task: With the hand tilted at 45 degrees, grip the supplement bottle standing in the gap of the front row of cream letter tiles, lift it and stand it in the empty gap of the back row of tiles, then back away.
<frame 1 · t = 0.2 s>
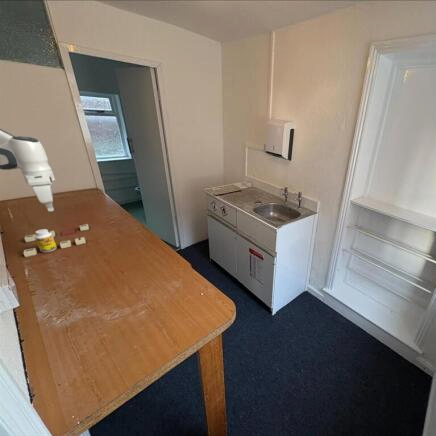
hand: (51, 207, 104), 21 cm above the table, tool pointing down, fingers open, 8 cm apart
supplement bottle: (49, 250, 111), on the table
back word: (68, 232, 127), on the table
front word: (49, 249, 111), on the table
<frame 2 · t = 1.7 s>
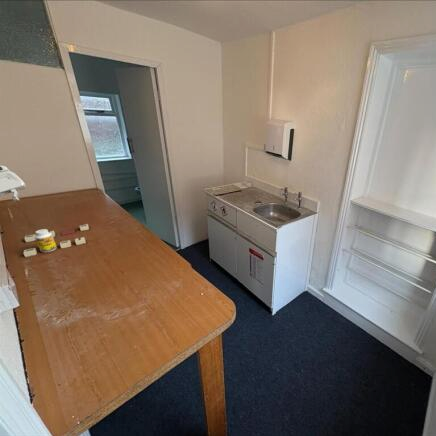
hand: (1, 205, 92), 26 cm above the table, tool tilted 40°, fingers open, 8 cm apart
nothing on the table moved.
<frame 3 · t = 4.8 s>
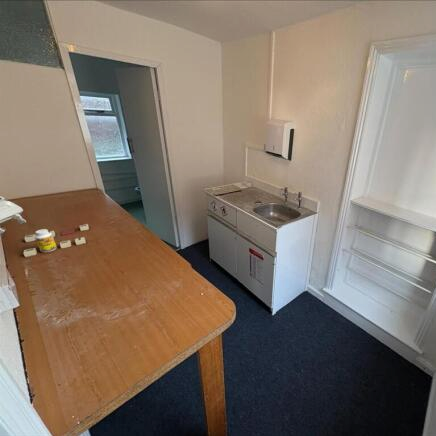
hand: (14, 227, 103), 13 cm above the table, tool tilted 45°, fingers open, 8 cm apart
nothing on the table moved.
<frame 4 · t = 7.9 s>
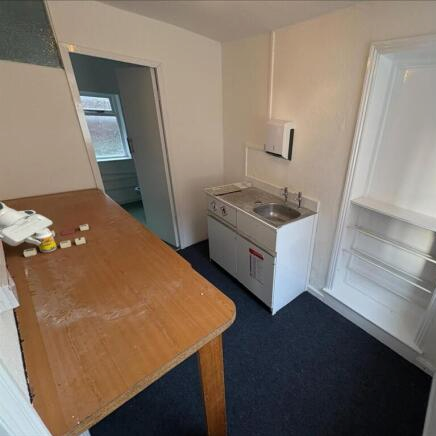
hand: (46, 239, 109), 5 cm above the table, tool tilted 45°, fingers closed on supplement bottle, 5 cm apart
supplement bottle: (49, 250, 111), on the table, touching gripper
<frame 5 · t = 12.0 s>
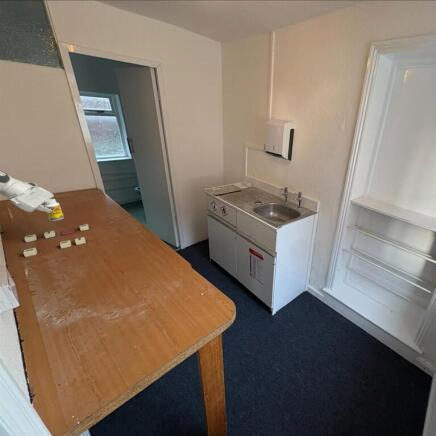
hand: (54, 209, 116), 16 cm above the table, tool tilted 45°, fingers closed on supplement bottle, 5 cm apart
supplement bottle: (57, 219, 117), point 10 cm above the table, touching gripper
when the fingers open (5 cm above the table, at t = 16.5 s): supplement bottle stays where it is, resting on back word.
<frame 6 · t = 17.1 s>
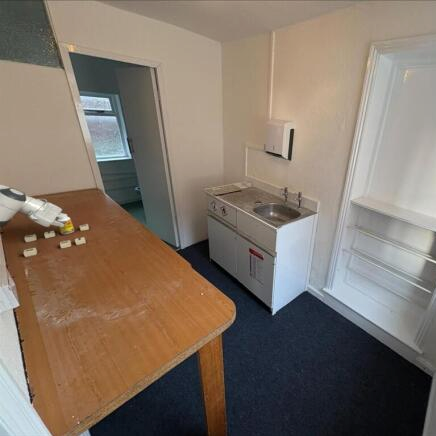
hand: (66, 222, 125), 6 cm above the table, tool tilted 45°, fingers open, 8 cm apart
supplement bottle: (68, 232, 127), resting on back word
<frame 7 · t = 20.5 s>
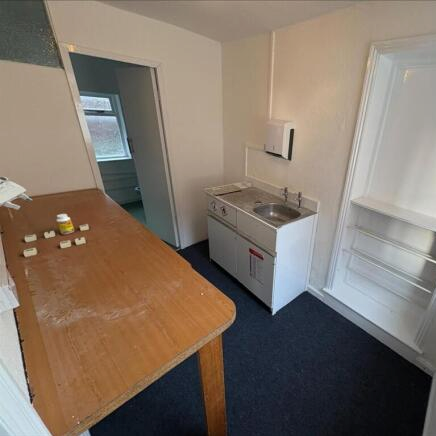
hand: (25, 204, 113), 18 cm above the table, tool tilted 45°, fingers open, 8 cm apart
nothing on the table moved.
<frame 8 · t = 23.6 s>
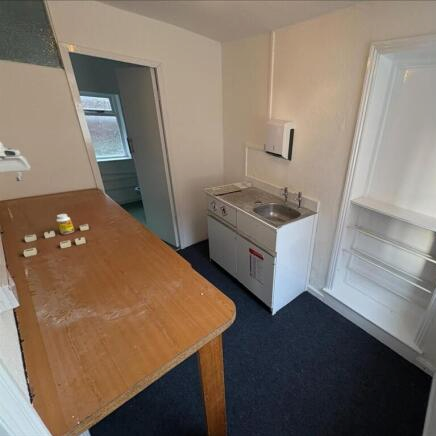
hand: (4, 182, 110), 29 cm above the table, tool pointing down, fingers open, 8 cm apart
nothing on the table moved.
at the end: supplement bottle 0.2 cm from the target spot, resting on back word; supplement bottle tilted 0° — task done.
